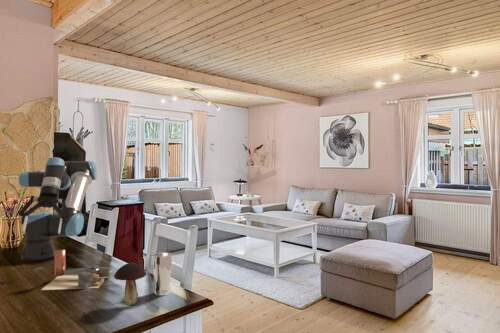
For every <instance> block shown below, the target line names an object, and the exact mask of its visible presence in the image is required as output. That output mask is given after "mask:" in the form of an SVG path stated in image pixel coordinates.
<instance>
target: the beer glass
mask: <svg viewBox="0 0 500 333" xmlns="http://www.w3.org/2000/svg"><path fill="white" fill-rule="evenodd" d="M152 263H153V268H152V269H153V275H154V281H155V288H154V295H155V296H160V297H163V296H164V297H165V296H167V295H170V294H171V292H172V290H171V285H170V284H171V275H172V268H173V259H172V253H171V252H168V251H163V252H162V251H161V252H160V251H159V252H157V253H154V254H153V262H152Z"/></svg>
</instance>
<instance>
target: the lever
mask: <svg viewBox="0 0 500 333" xmlns="http://www.w3.org/2000/svg"><path fill="white" fill-rule="evenodd" d="M66 251H67V250H66V249H65V248H60V249H55V256H54V276H55V277H57V276H63V275H78V273H81V272H88V273H96V274H99V277H107V278H109V277H110V276H111V273H110V270H111V266H100V267H99V266H91V267H85V268H84V267H83V268H81V267H80V268H66V267H67V265H66V264H67V263H66V261H67V260H66V257H67V256H66Z"/></svg>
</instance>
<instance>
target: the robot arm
mask: <svg viewBox="0 0 500 333" xmlns="http://www.w3.org/2000/svg"><path fill="white" fill-rule="evenodd" d="M18 176H19V177H18V183H19V186H20V187H22V188H23V187H24V188H40V192H39V195H38V197H37V196H35V195H30V198H29V200H28V201H27V202H26V203H25V205H24V206H23V207H22V208H21V209H20V210H19V211H18V212H17V214H18V216H19V217H21V221H20V223H21V225H22V229H21V231H22V233H24V246H23V248H22V251H21V255H20V260H21V261H24V262H37V261H43V260H48V259H51V258H53V257H55V250H56V249H55V248H54V245H53V242H52V238H53V237H54V238H55V237H56V238H57V237H58V238H59V237H75V236H76V237H77V236H78V235H79V234H81V232H82V230H83V229H84V223H85V217H84V215H83V214H82V212H81V211H82V206H83V202H84V199H85V195H86V192H87V190H88V186H89V185H90V184H92V182H93V181H96V180H97V179H98V170H97V166H96V163H95V162H94V160H92V161H91V160H84V161H83V160H82V161H81V160H80V161H78V160H77V161H76V160H67V161H65V160H64V159H62V158H60V157H53V156H52V157H49V158H47V160H46V164H45V168H43V169H42V168H41V169H38V170H35V171H23V172H20V174H19V175H18ZM68 188H69V190H68V193H67V196H66V198H64V197H62V198H59V196H60V195H59V194H60V190H61V191H65V190H67V189H68ZM36 201H37V203H36V204H35V205H33V206H32V204H33V203H34V202H36ZM58 203H59V204H60V205H61V206H62V207H61V208H59V206H58V205H57V204H58ZM31 206H32V207H31ZM41 207H42V208H48V209H51V208H53V209H54V210H55V211H56V213H54V214H53V213H52V211H50V210H47V211H39V212H35V211H37V210H38V209H40V208H41Z"/></svg>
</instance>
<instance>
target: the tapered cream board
mask: <svg viewBox="0 0 500 333" xmlns="http://www.w3.org/2000/svg"><path fill="white" fill-rule="evenodd" d="M112 272H113V269H112V270H111V269H110V274H111V273H112ZM97 275H98V276H99V274H97ZM107 278H108V277H99V279H98V281H97V282H96V283H92V273H88V272H81V273H78V275H63V276H55V278H54V279H52V280H51V281H49V283H47V284H46V285H45V286H44V287H42V288H41V289H40V291H51V290H52V291H55V290H56V291H57V290H58V291H59V290H79V289H99V288H100V286H101V285H102V284H103V283H104V282H105V280H106V279H107Z"/></svg>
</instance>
